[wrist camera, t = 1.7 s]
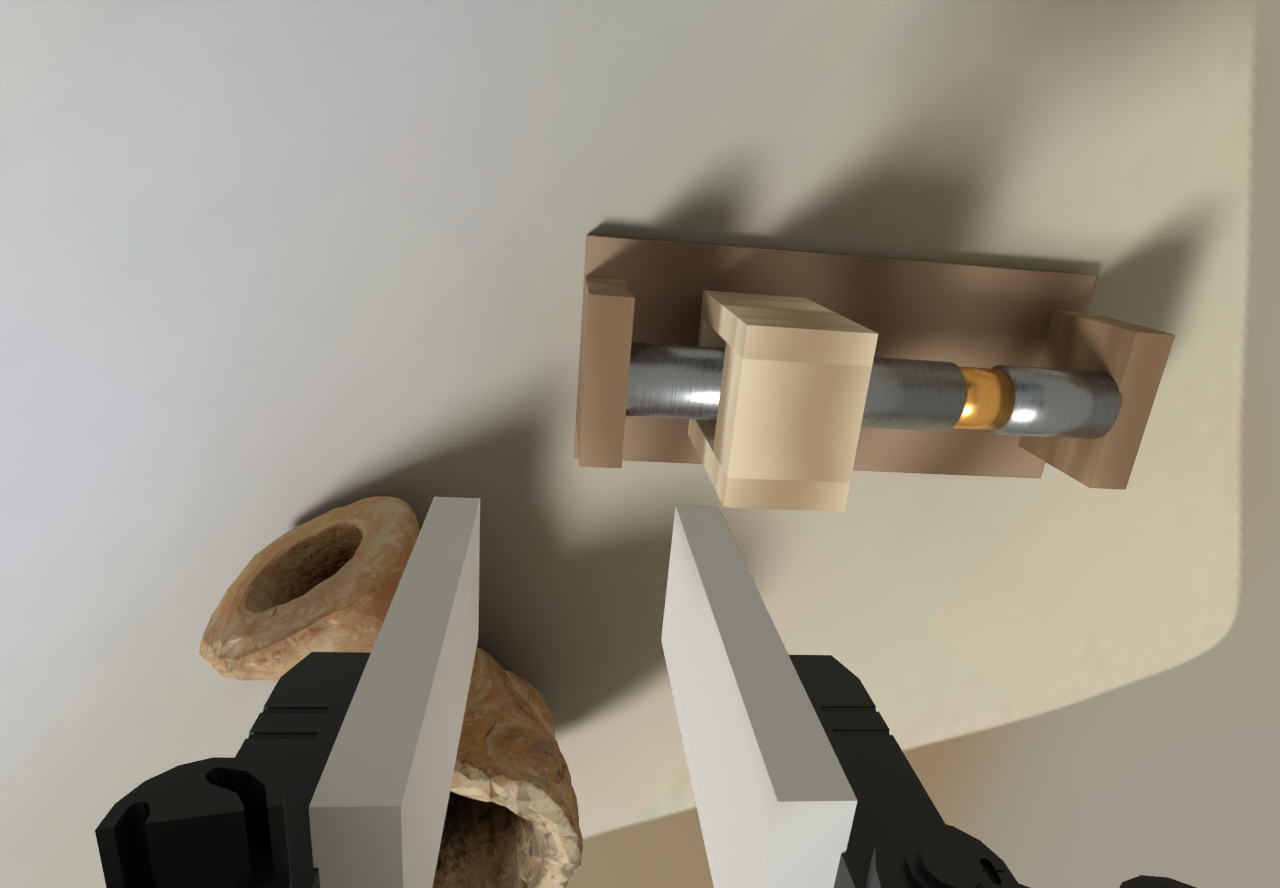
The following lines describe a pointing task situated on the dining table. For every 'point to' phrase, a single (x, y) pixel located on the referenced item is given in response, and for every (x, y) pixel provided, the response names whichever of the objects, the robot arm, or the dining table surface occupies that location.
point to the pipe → (350, 622)
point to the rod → (899, 394)
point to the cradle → (907, 329)
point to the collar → (783, 401)
